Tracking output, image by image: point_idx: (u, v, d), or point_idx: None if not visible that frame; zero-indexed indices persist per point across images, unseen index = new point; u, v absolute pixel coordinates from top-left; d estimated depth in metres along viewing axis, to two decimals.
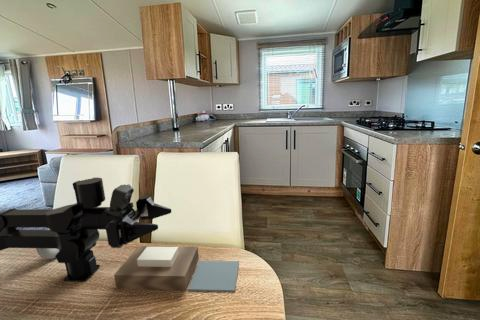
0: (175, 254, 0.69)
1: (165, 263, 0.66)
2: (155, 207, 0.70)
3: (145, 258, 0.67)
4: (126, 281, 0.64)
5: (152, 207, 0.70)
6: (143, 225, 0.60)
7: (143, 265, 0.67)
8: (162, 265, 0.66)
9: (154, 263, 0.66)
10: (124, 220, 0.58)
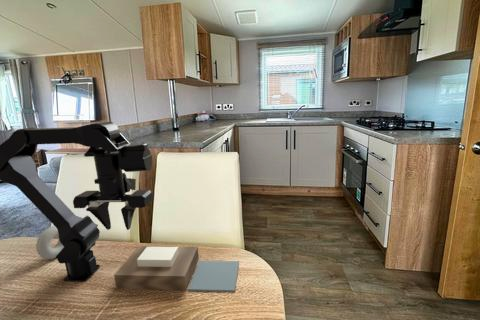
0: (175, 254, 0.69)
1: (165, 263, 0.66)
2: (107, 212, 0.68)
3: (145, 258, 0.67)
4: (126, 281, 0.64)
5: (106, 209, 0.68)
6: (131, 217, 0.68)
7: (143, 265, 0.67)
8: (162, 265, 0.66)
9: (154, 263, 0.66)
10: None
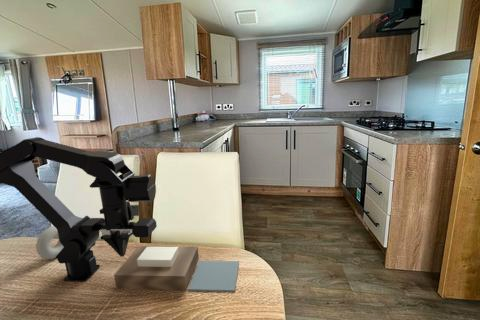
0: (175, 254, 0.69)
1: (165, 263, 0.66)
2: None
3: (145, 258, 0.67)
4: (126, 281, 0.64)
5: None
6: (126, 244, 0.70)
7: (143, 265, 0.67)
8: (162, 265, 0.66)
9: (154, 263, 0.66)
10: None
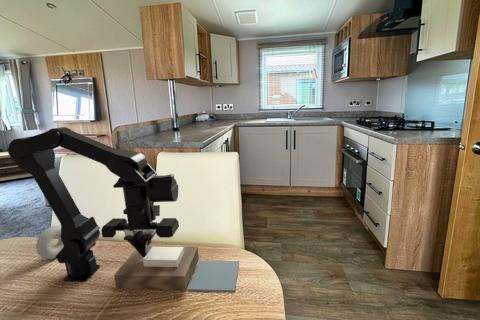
0: (181, 254, 0.69)
1: (171, 263, 0.66)
2: None
3: (151, 258, 0.67)
4: (126, 281, 0.64)
5: None
6: (148, 244, 0.69)
7: (149, 265, 0.67)
8: (168, 265, 0.66)
9: (160, 263, 0.66)
10: None
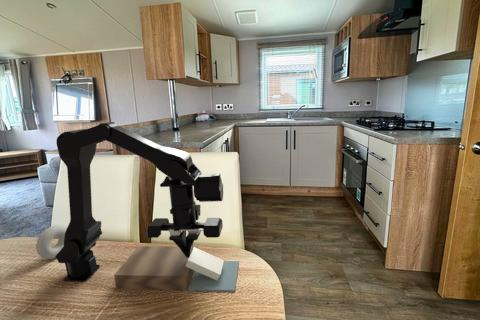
0: (221, 268, 0.69)
1: (213, 275, 0.65)
2: (186, 240, 0.68)
3: (195, 262, 0.65)
4: (126, 281, 0.64)
5: (185, 237, 0.68)
6: None
7: (191, 267, 0.65)
8: (209, 275, 0.65)
9: (202, 271, 0.65)
10: None
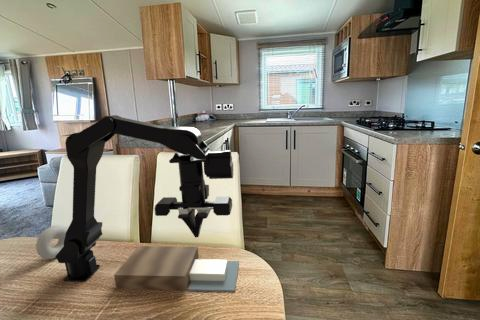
0: (226, 267, 0.68)
1: (218, 277, 0.65)
2: (195, 219, 0.67)
3: (197, 272, 0.66)
4: (126, 281, 0.64)
5: (194, 216, 0.67)
6: None
7: (195, 279, 0.66)
8: (215, 279, 0.65)
9: (207, 277, 0.66)
10: None
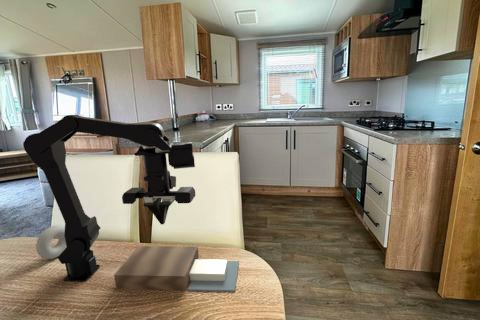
0: (226, 267, 0.68)
1: (218, 277, 0.65)
2: None
3: (197, 272, 0.66)
4: (126, 281, 0.64)
5: None
6: (166, 212, 0.72)
7: (195, 279, 0.66)
8: (215, 279, 0.65)
9: (207, 277, 0.66)
10: None
